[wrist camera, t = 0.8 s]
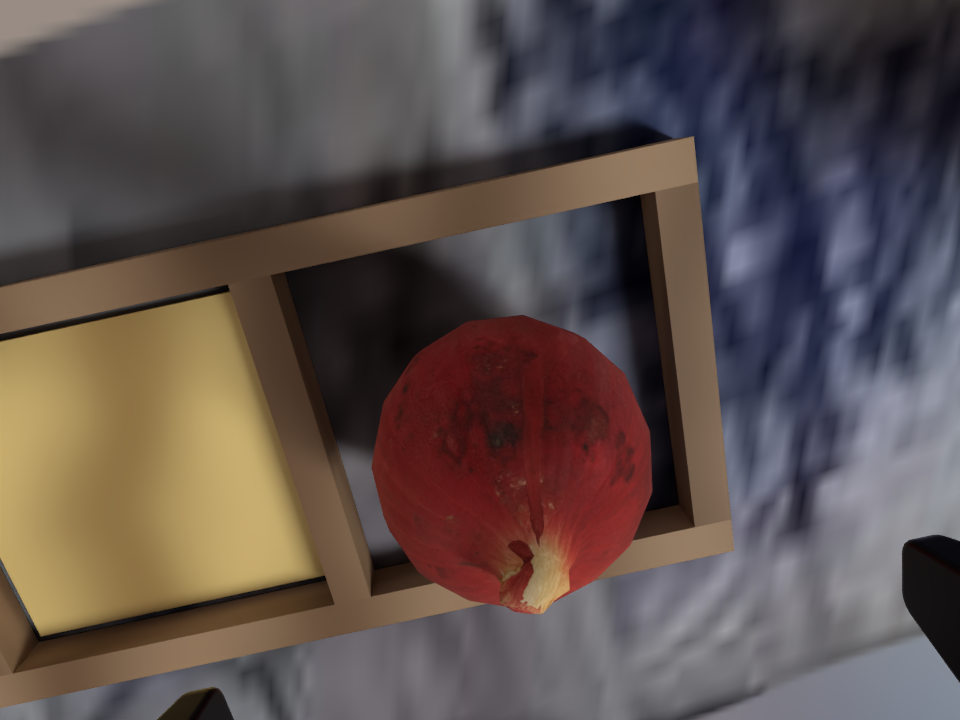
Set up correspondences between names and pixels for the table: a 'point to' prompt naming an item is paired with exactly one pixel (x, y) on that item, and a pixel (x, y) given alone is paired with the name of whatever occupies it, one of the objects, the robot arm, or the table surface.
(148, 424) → the wooden divided frame
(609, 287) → the table surface
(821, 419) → the table surface
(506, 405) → the red pomegranate
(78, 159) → the table surface
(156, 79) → the table surface
